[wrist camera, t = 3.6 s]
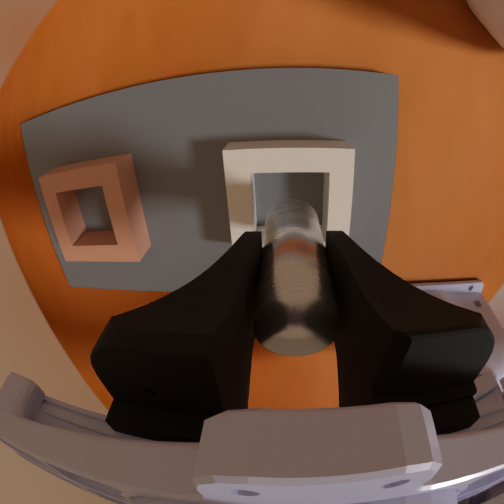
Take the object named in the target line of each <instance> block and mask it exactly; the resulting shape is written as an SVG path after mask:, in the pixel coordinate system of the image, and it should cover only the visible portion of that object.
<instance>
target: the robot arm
mask: <svg viewBox="0 0 504 504" xmlns="http://www.w3.org/2000/svg"><path fill="white" fill-rule="evenodd" d="M325 250H326V254H327V259H328V263H329V268H330V273H331V277H332V282H333V287H334V292H335V297H336V303H337V308H338V313H339V319H340V329H339V333H338V335H337V337H336V338H335V340H334V342H335V347H336V355H337V367H338V384H339V407H338V408H317V409H261V408H253V409H248V398H249V385H250V373H251V361H252V351H253V345H254V340H255V335H254V331H253V322H254V314H255V306H256V298H257V289H258V281H259V272H260V265H261V257H262V232H261V231H245V232H244V233H243V234H242V235H241V236H240V237H239V238H238V239H237V241H236V242H235V243H234V244H233V245H232V246H231V247H230V248H229V249H228V250H227V251H226V252H225V253H224V254H223V255H222V256H221V257H220V258H219V259H218V260H217V261H216V262H215V263H214V264H213V265H212V266H210V267H209V268H208V269H207V270H206V271H204V272H203V273H202V274H200V275H199V276H198V277H196V278H195V279H193V280H192V281H190V282H189V283H187V284H186V285H184V286H182V287H180V288H179V289H177V290H175V291H174V292H172V293H170V294H168V295H166V296H164V297H162V298H160V299H158V300H156V301H154V302H152V303H149V304H147V305H145V306H142V307H140V308H137V309H134V310H131V311H128V312H125V313H122V314H119V315H116V316H113V317H111V319H110V320H109V322H108V324H107V325H106V327H105V329H104V330H103V332H102V334H101V336H100V337H99V339H98V341H97V343H96V345H95V346H94V348H93V350H92V353H91V356H90V358H91V364H92V367H93V369H94V370H95V372H96V374H97V376H98V377H99V379H100V380H101V382H102V383H103V385H104V386H105V387H106V389H107V390H108V392H109V393H110V394H111V396H112V397H113V398H114V400H113V402H112V405H111V407H110V409H109V412H108V414H107V416H106V415H102V414H99V413H95V412H92V411H89V410H85V409H82V408H79V407H76V406H73V405H70V404H67V403H64V402H61V401H59V400H56V399H53V398H50V397H48V396H45V394H44V392H43V391H42V390H41V388H40V387H39V386H38V385H37V384H36V383H34V382H33V381H31V380H30V379H28V378H25V377H23V376H20V375H18V374H16V373H13V372H11V373H10V374H9V376H8V377H7V379H6V381H5V382H4V384H3V386H2V387H1V389H0V440H1V441H2V442H3V443H4V444H6V445H7V446H8V447H9V448H11V449H12V450H13V451H15V452H16V453H17V454H19V455H20V456H21V457H23V458H24V459H26V460H27V461H29V462H31V463H32V464H34V465H36V466H38V467H40V468H41V469H43V470H45V471H47V472H49V473H51V474H52V475H54V476H56V477H58V478H60V479H62V480H64V481H66V482H68V483H70V484H72V485H74V486H76V487H78V488H81V489H83V490H85V491H87V492H90V493H92V494H94V495H97V496H99V497H102V498H104V499H106V500H109V501H112V502H114V503H117V504H504V395H503V393H502V392H503V391H504V328H503V327H502V325H501V323H500V322H499V320H498V318H497V317H496V315H495V314H494V312H493V310H492V309H491V307H490V306H489V304H488V303H487V301H486V299H485V298H484V296H483V295H482V293H481V291H482V289H483V286H484V283H483V282H482V281H481V280H470V281H454V282H436V283H415V284H410V283H408V282H406V281H405V280H403V279H401V278H400V277H398V276H397V275H395V274H394V273H392V272H391V271H389V270H388V269H387V268H385V267H384V266H383V265H381V264H380V263H379V262H378V261H376V260H375V259H374V258H373V257H371V256H370V255H369V254H368V253H367V252H366V251H364V250H363V249H362V248H361V247H360V246H359V245H358V244H357V243H356V242H354V241H353V240H352V239H351V238H350V237H349V236H348V235H347V234H346V233H344V232H343V231H326V242H325Z"/></svg>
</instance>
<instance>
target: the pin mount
mask: <svg viewBox="0 0 504 504" xmlns="http://www.w3.org/2000/svg"><path fill="white" fill-rule="evenodd" d="M222 152H223V163H224V173H225V183H226V193H227V202H228V212H229V221H230V231H231V240H232V245H233V244H234V243H235V242H236V241H237V239H238V238H239V237H240V236H241V235H242V234H243V233H244V232H245V231H261V232H262V247H263V238H264V230H265V226H257V217H256V201H255V185H254V173H282V172H324V187H323V215H322V225H320V228H321V232H322V237H323V241H324V245H325V242H326V231H343V232H344V233H346V234H347V235H348V236H349V231H350V220H351V209H352V196H353V181H354V163H355V148H354V147H352V146H351V145H350V144H349V143H348V142H347V141H335V140H269V141H244V142H229V143H228V144H227V145H226V147H225V148H224V149H223V150H222Z"/></svg>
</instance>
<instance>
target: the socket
mask: <svg viewBox="0 0 504 504" xmlns="http://www.w3.org/2000/svg"><path fill="white" fill-rule="evenodd" d="M39 181H40V185H41V189H42V192H43V196H44V199H45V203H46V206H47V209H48V212H49V216H50V219H51V222H52V225H53V228H54V231H55V234H56V236H57V239H58V242H59V245H60V247H61V250H62V253H63V255H64V258H65V260H66V261H95V262H140V261H141V259H142V258H143V256H144V255H145V253H146V252H147V250H148V249H149V247H150V246H151V242H150V238H149V234H148V230H147V226H146V221H145V217H144V213H143V208H142V204H141V199H140V194H139V190H138V185H137V180H136V175H135V169H134V164H133V159H132V153H128V154H122V155H116V156H110V157H104V158H99V159H94V160H89V161H84V162H79V163H74V164H69V165H65V166H61V167H56V168H55V169H53V170H51V171H49V172H47V173H46V174H44V175H42V176H41V177H39ZM96 186H102V188H103V192H104V196H105V200H106V204H107V208H108V211H109V215H110V219H111V223H112V226H113V230H107V231H88V232H87V230H86V227H85V224H84V220H83V217H82V214H81V210H80V207H79V203H78V200H77V196H76V192H75V190H76V189H83V188H89V187H96Z"/></svg>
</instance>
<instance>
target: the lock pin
mask: <svg viewBox="0 0 504 504" xmlns="http://www.w3.org/2000/svg"><path fill="white" fill-rule="evenodd" d="M339 329H340V319H339V313H338V308H337V303H336V297H335V292H334V287H333V282H332V277H331V273H330V268H329V263H328V259H327V254H326V250H325V245H324V241H323V237H322V232H321V228H320V224H319V220H318V216H317V213H316V211H315V210H314V208H313V207H312V206H311V205H310V204H308V203H307V202H305V201H303V200H300V199H285V200H282V201H279V202H278V203H276V204H275V205H273V206H272V207H271V209H270V210H269V211H268V213H267V216H266V221H265V230H264V238H263V247H262V257H261V265H260V272H259V281H258V289H257V298H256V306H255V314H254V322H253V331H254V335H255V337H256V339H257V340H258V341H259V343H260V344H261V345H262V346H264V347H265V348H266V349H268V350H270V351H272V352H274V353H277V354H281V355H286V356H304V355H309V354H313V353H316V352H318V351H320V350H322V349H324V348H326V347H327V346H328V345H330V344H331V343H332V342H333V341H334V340H335V338H336V337H337V335H338V333H339Z"/></svg>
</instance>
